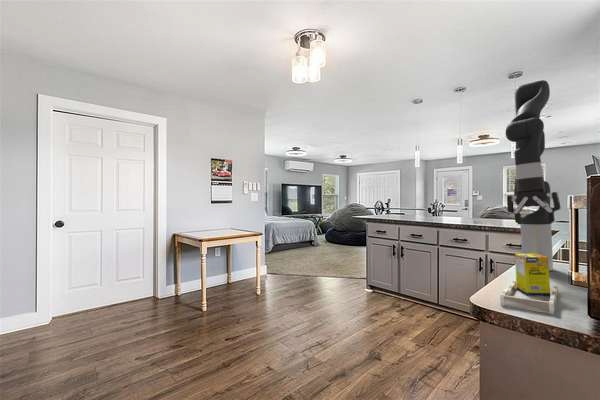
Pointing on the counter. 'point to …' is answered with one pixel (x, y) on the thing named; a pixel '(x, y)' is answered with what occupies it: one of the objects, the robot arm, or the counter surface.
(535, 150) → the robot arm
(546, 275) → the supplement box
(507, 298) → the track dock
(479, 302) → the counter surface
